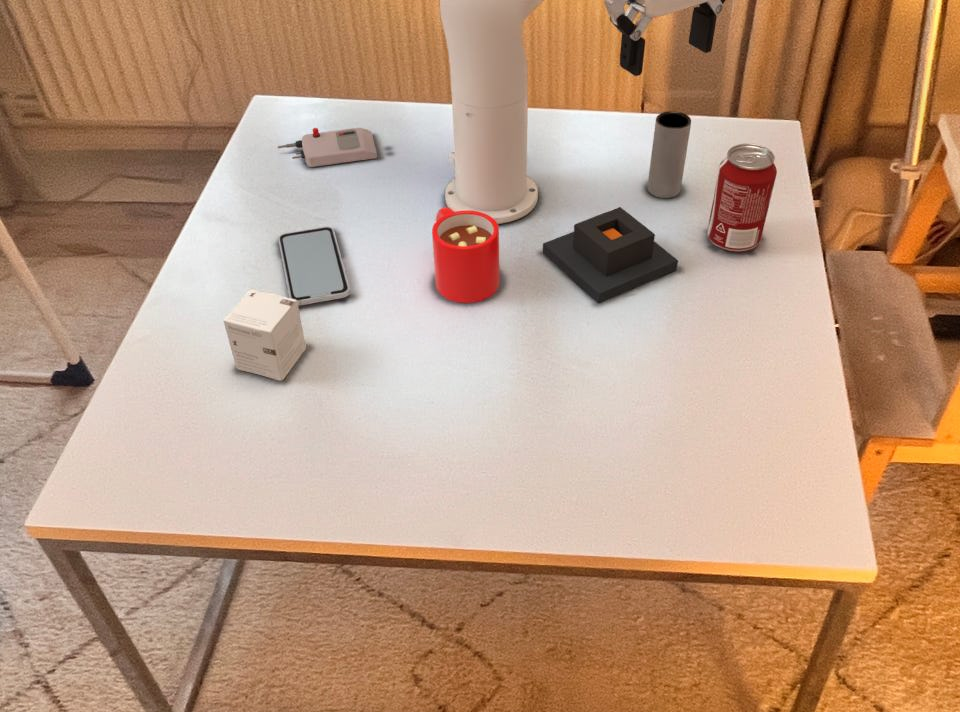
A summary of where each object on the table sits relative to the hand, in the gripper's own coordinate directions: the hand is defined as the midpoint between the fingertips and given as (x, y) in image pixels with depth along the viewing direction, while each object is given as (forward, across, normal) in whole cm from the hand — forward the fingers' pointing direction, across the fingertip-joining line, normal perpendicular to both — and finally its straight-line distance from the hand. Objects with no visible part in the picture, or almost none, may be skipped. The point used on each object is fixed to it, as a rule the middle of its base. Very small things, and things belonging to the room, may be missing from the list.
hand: (665, 59), depth 103 cm
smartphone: (+23, +39, -17) cm, 49 cm away
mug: (+24, +24, -6) cm, 34 cm away
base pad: (+23, +7, +2) cm, 24 cm away
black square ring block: (+22, +7, +2) cm, 23 cm away
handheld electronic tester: (+24, +25, -41) cm, 53 cm away
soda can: (+24, -9, +7) cm, 26 cm away
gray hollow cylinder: (+24, -9, -7) cm, 26 cm away
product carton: (+24, +50, -4) cm, 55 cm away
